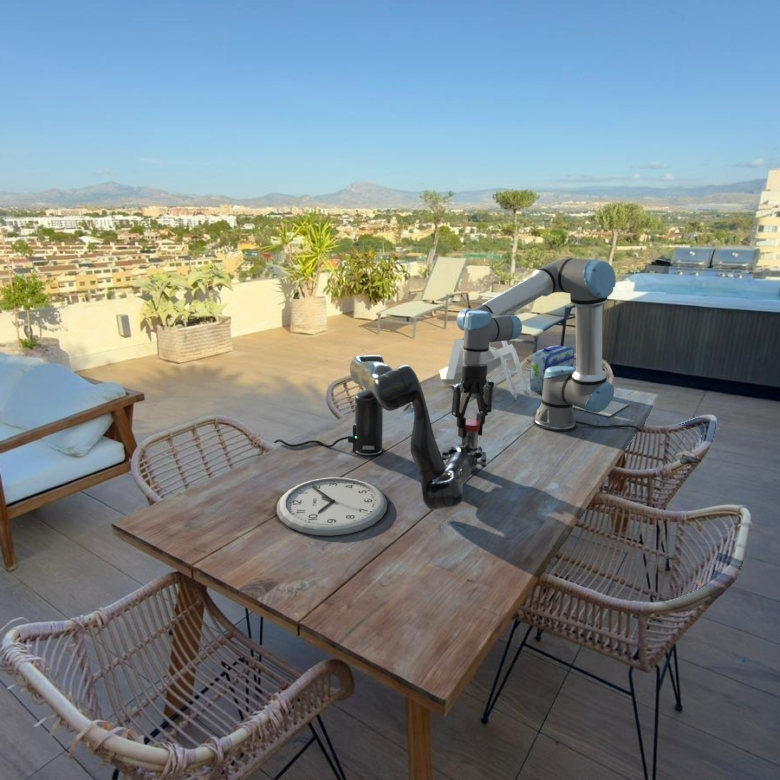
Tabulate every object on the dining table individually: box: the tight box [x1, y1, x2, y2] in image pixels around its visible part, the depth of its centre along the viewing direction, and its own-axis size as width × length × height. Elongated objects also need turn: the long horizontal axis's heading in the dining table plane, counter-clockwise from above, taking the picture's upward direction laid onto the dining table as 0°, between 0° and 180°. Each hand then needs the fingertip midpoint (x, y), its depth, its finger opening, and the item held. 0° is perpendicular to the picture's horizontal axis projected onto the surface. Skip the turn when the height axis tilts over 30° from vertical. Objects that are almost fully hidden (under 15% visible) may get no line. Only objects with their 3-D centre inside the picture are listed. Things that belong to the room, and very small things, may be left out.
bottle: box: [461, 430, 479, 472], centre depth 164 cm, size 5×5×15 cm
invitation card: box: [573, 400, 629, 418], centre depth 226 cm, size 21×1×15 cm
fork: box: [403, 402, 413, 411], centre depth 222 cm, size 3×16×2 cm, turn 160°
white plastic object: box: [438, 338, 531, 400], centre depth 245 cm, size 37×45×31 cm
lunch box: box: [529, 345, 575, 394], centre depth 245 cm, size 26×11×21 cm, turn 134°
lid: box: [465, 418, 480, 431], centre depth 162 cm, size 6×6×2 cm
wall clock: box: [276, 476, 388, 537], centre depth 142 cm, size 30×2×30 cm
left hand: (470, 447), depth 167 cm, fingers closed on bottle, 5 cm apart
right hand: (470, 435), depth 163 cm, fingers closed on lid, 6 cm apart
